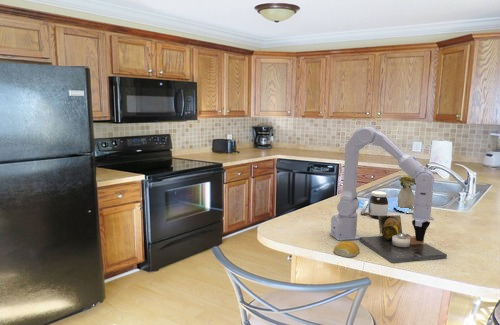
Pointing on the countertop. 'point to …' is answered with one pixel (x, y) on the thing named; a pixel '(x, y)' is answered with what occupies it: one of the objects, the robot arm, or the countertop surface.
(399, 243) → the collar
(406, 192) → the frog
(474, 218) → the countertop surface
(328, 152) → the countertop surface
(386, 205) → the spread jar
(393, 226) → the condiment
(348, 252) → the bread roll
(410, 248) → the base
